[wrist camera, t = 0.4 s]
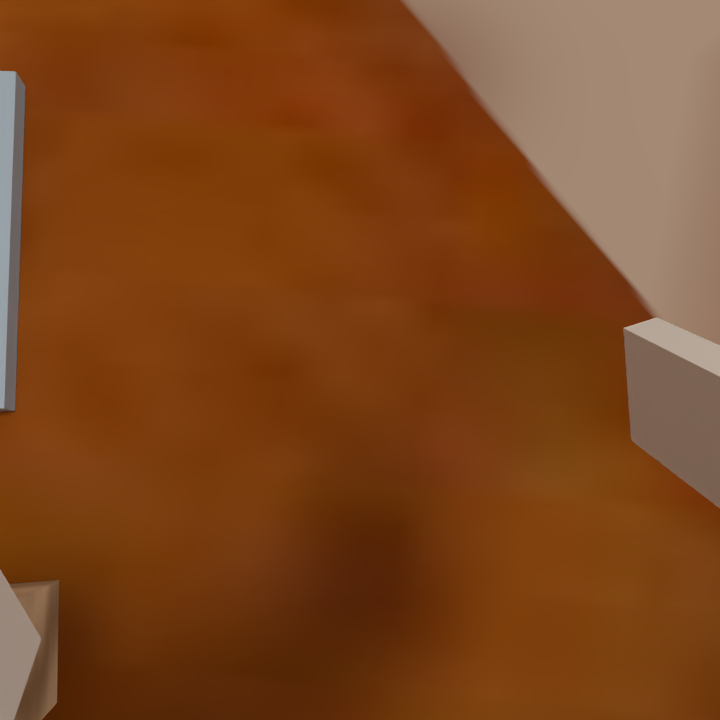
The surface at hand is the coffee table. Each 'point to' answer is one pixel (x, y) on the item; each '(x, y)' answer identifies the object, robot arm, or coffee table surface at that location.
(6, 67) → the coffee table surface
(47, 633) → the maple beam
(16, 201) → the blueprint board
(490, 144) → the coffee table surface
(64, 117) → the coffee table surface
